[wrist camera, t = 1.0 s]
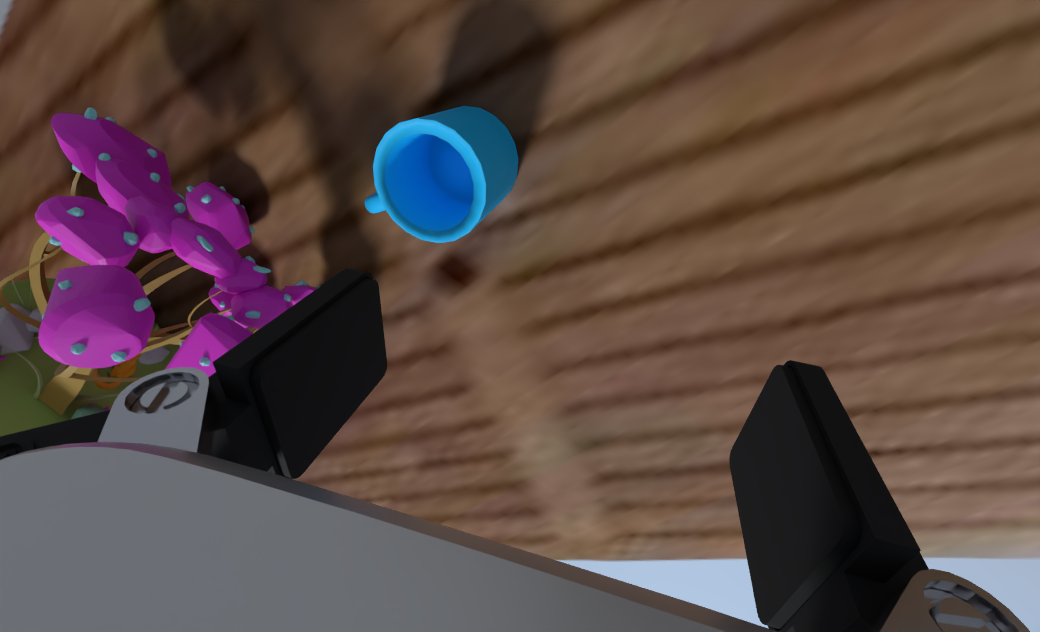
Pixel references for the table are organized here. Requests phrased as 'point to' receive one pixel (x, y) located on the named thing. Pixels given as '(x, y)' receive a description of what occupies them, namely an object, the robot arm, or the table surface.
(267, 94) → the table surface
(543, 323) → the table surface
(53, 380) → the tree
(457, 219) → the mug
